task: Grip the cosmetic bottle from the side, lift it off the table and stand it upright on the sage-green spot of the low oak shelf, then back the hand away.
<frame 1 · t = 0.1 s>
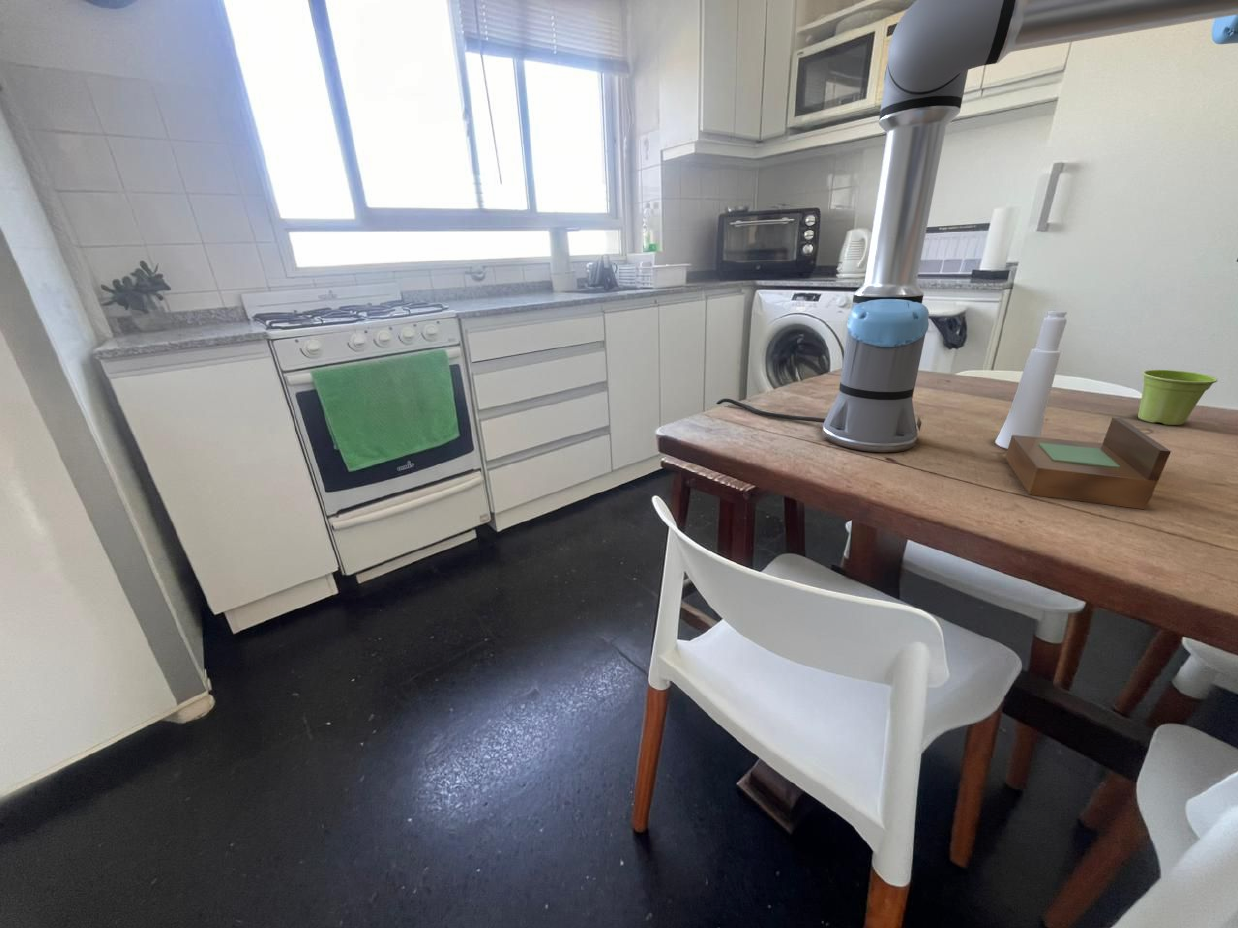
cosmetic bottle: (1016, 447, 84), on the table
shelf: (1067, 481, 71), on the table
plant pot: (1159, 421, 93), on the table
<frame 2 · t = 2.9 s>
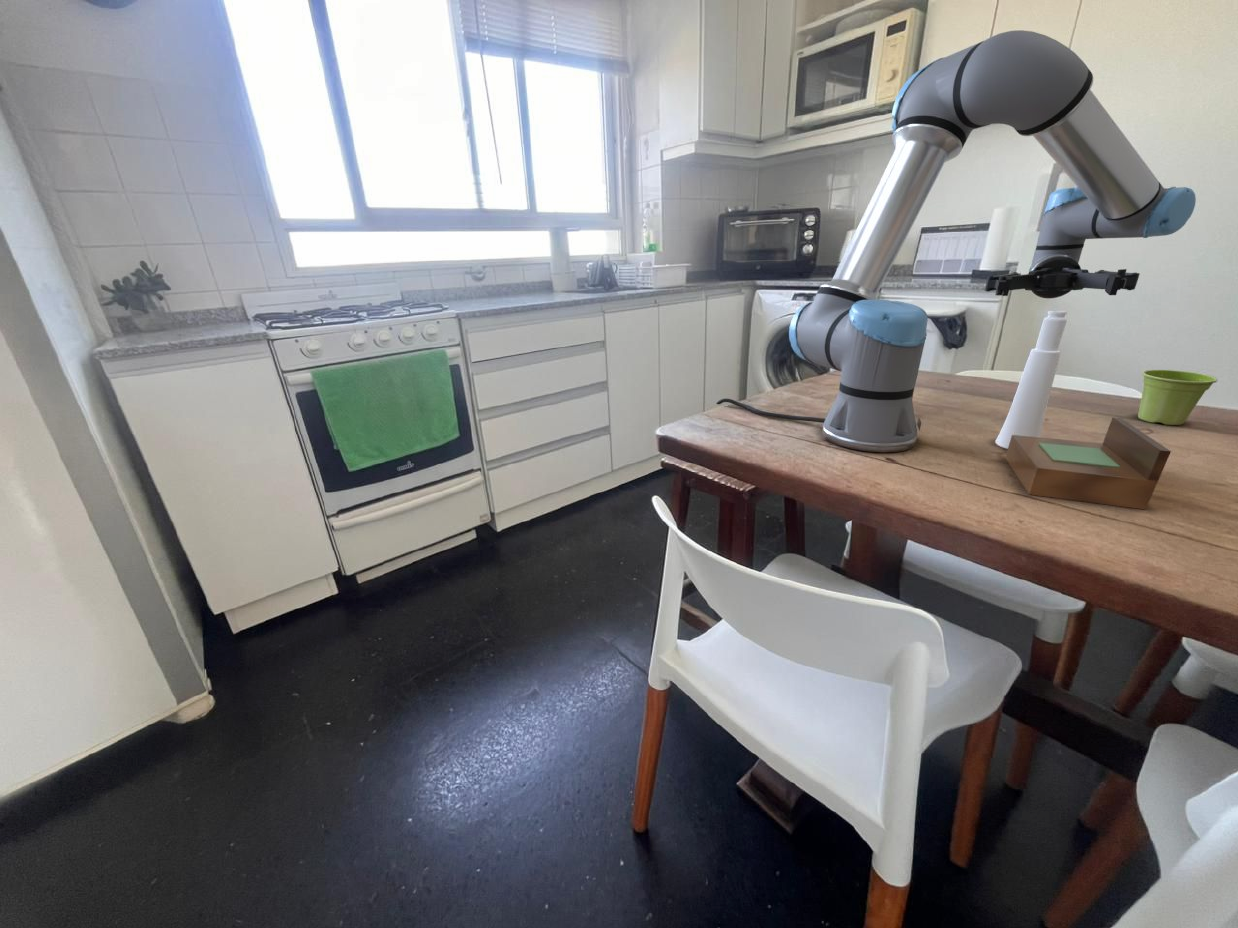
hand: (1058, 287, 81), 25 cm above the table, tool horizontal, fingers open, 13 cm apart
nothing on the table moved.
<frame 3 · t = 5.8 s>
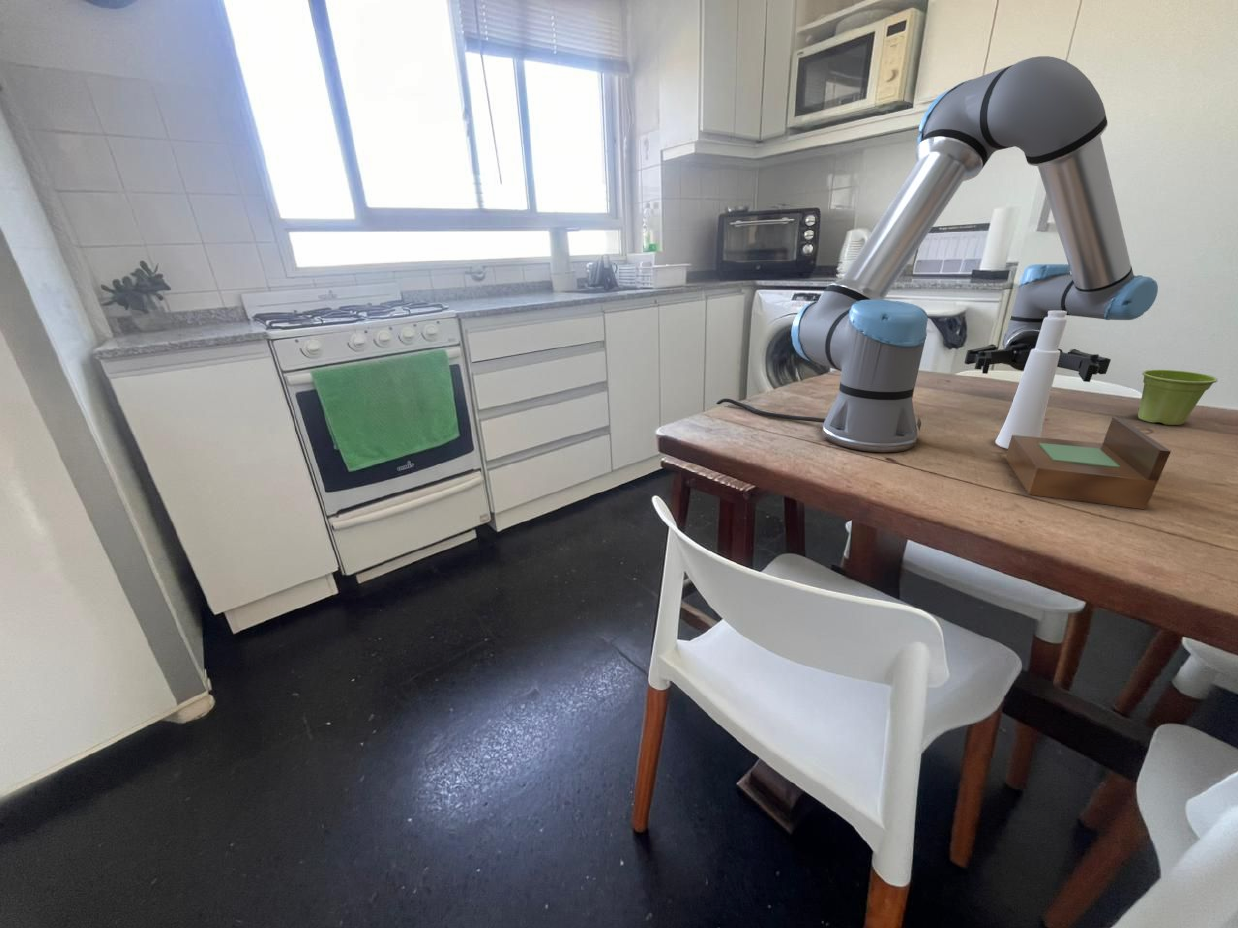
hand: (1036, 369, 83), 12 cm above the table, tool horizontal, fingers open, 13 cm apart
nothing on the table moved.
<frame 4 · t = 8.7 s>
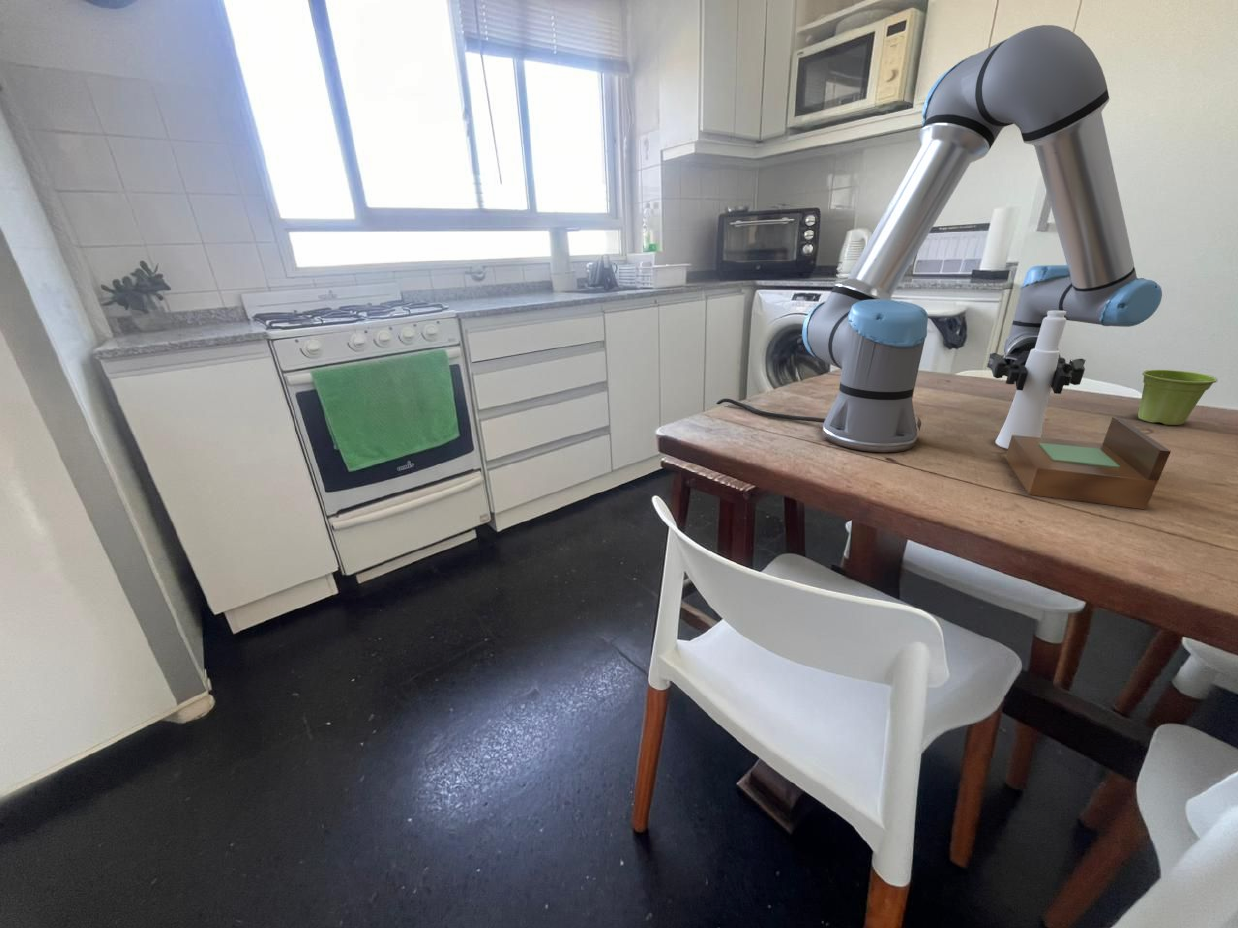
hand: (1040, 383, 75), 12 cm above the table, tool horizontal, fingers closed on cosmetic bottle, 4 cm apart
cosmetic bottle: (1016, 446, 84), on the table, touching gripper
everything else where it was.
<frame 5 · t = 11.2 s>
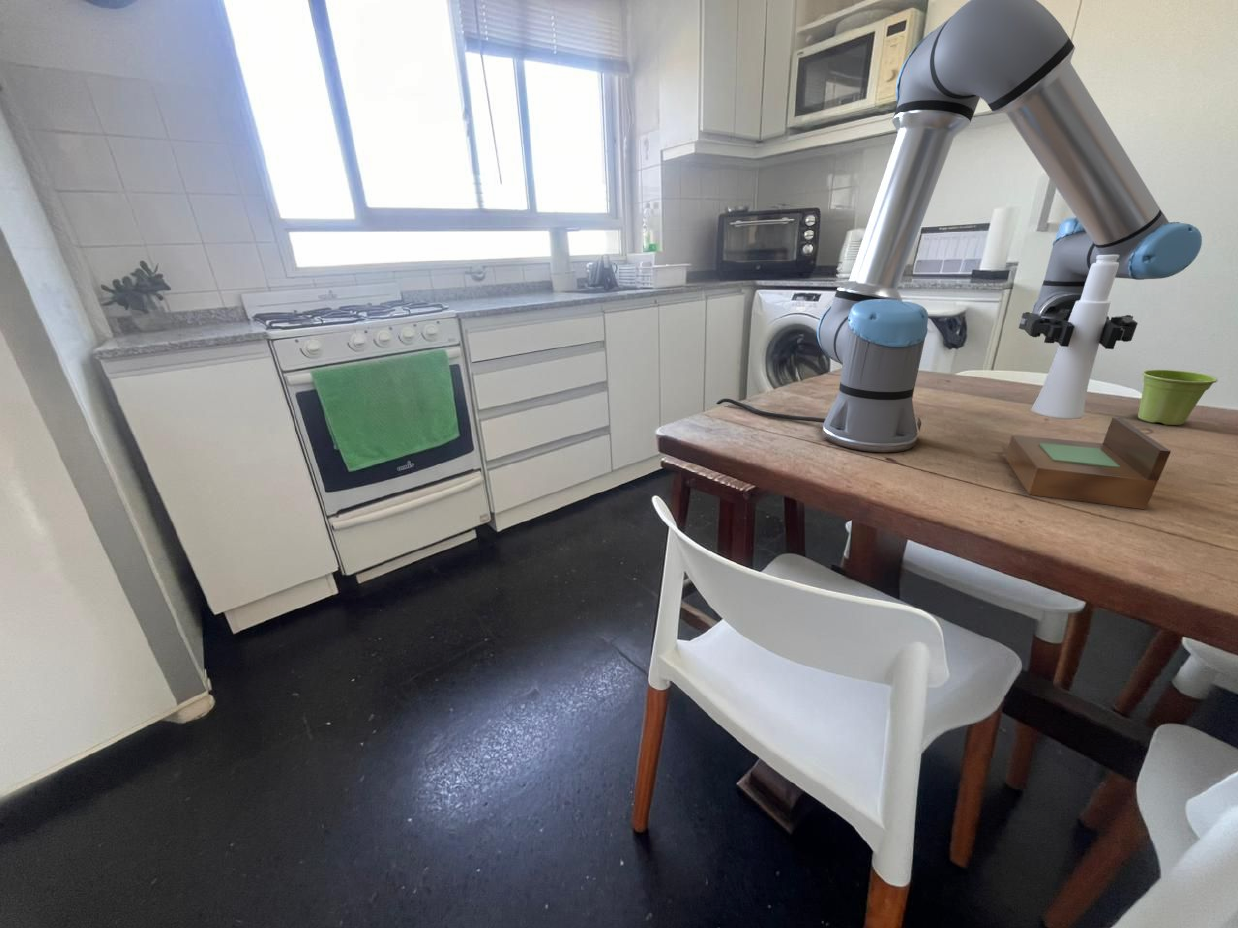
hand: (1090, 337, 65), 20 cm above the table, tool horizontal, fingers closed on cosmetic bottle, 4 cm apart
cosmetic bottle: (1055, 414, 74), point 8 cm above the table, touching gripper
everything else where it was.
when the fingers open (16 cm above the table, at t = 13.7 s): cosmetic bottle stays where it is, resting on shelf.
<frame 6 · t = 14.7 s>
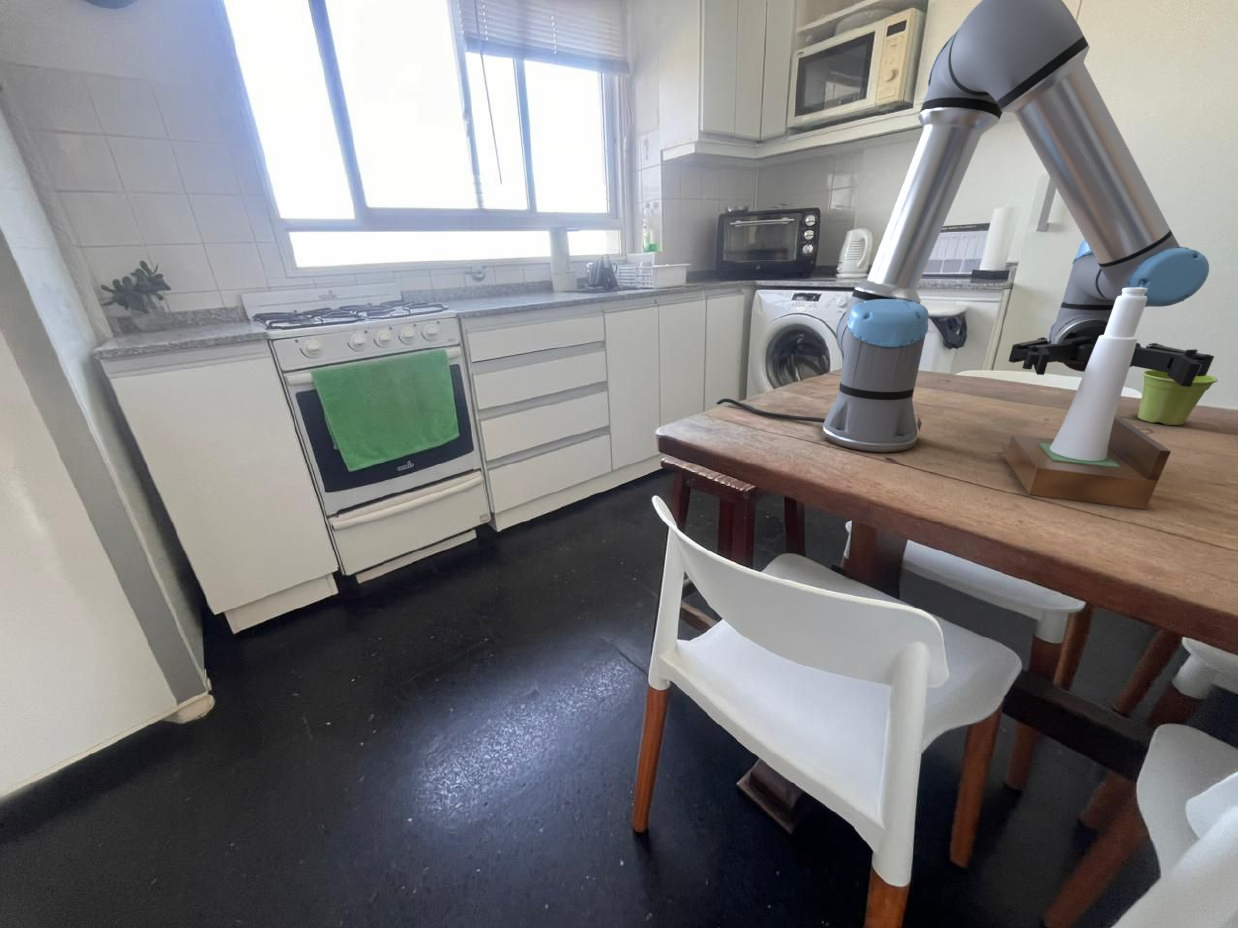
hand: (1112, 369, 62), 17 cm above the table, tool horizontal, fingers open, 13 cm apart
cosmetic bottle: (1076, 455, 69), point 4 cm above the table, touching shelf
everything else where it was.
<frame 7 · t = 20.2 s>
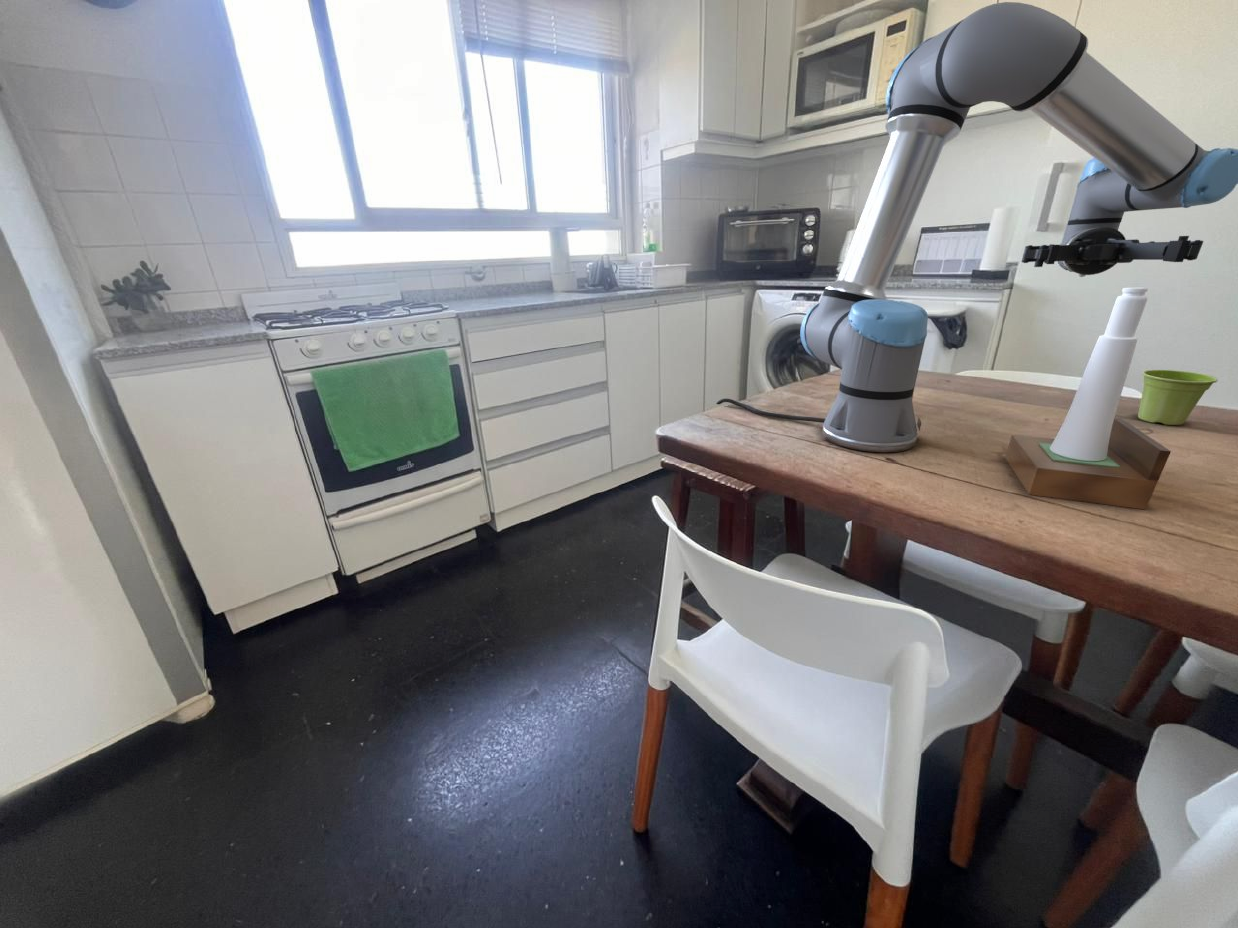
hand: (1114, 253, 71), 30 cm above the table, tool horizontal, fingers open, 13 cm apart
nothing on the table moved.
at the end: cosmetic bottle 0.0 cm off-centre on the shelf, point 4.0 cm above the shelf's base; cosmetic bottle tilted 0°; the gripper is holding nothing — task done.
